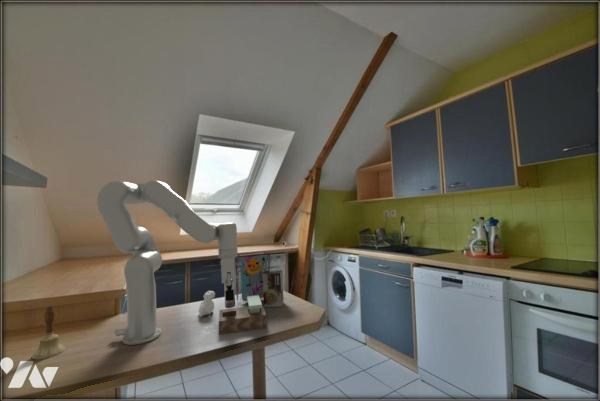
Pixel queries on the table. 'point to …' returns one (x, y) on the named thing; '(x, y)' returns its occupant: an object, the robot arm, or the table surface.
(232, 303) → the peg
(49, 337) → the hand bell
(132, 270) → the robot arm
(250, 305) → the button
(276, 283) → the coffee box
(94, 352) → the table surface
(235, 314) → the socket block
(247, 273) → the box
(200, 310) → the bust
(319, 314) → the table surface
